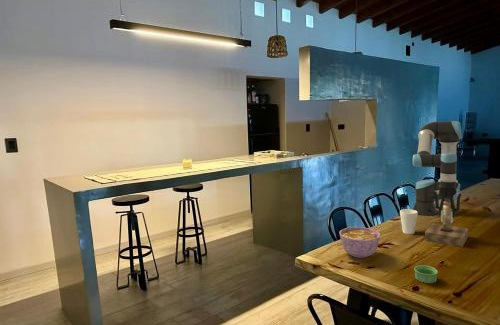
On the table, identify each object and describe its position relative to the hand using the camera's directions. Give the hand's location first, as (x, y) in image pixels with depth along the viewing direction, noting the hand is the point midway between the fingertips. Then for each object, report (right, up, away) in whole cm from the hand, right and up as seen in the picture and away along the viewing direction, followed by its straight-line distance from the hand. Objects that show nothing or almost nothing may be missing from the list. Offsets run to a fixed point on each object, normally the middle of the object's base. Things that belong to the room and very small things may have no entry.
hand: (446, 221), depth 185 cm
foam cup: (-15, -9, +14) cm, 22 cm away
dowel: (0, -4, +1) cm, 4 cm away
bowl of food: (-53, -15, -14) cm, 57 cm away
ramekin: (-34, -18, -42) cm, 57 cm away
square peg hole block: (+1, -10, +1) cm, 10 cm away
